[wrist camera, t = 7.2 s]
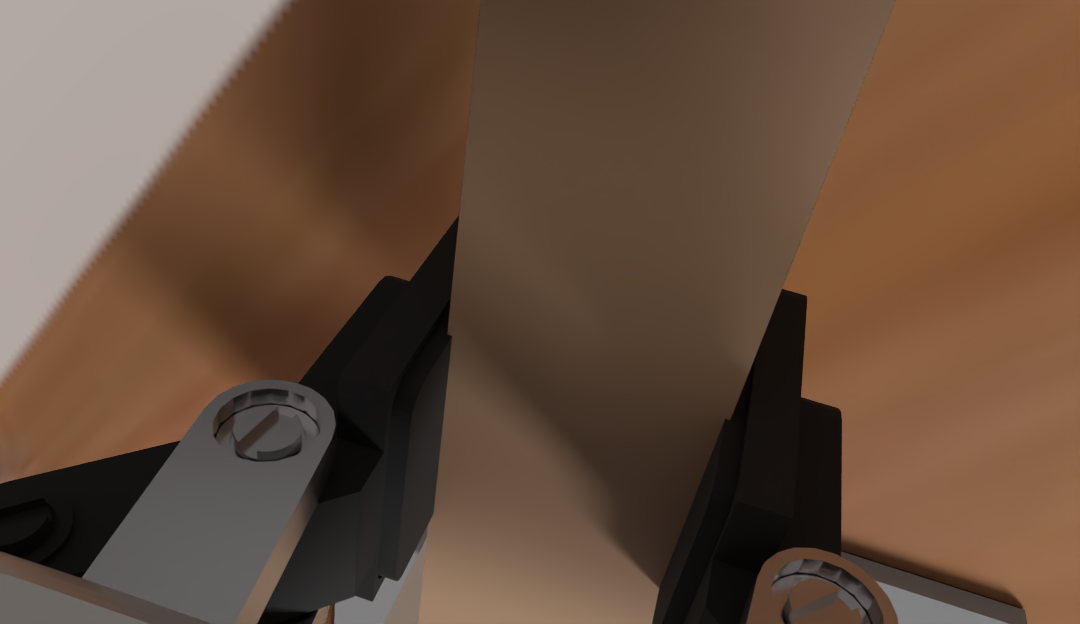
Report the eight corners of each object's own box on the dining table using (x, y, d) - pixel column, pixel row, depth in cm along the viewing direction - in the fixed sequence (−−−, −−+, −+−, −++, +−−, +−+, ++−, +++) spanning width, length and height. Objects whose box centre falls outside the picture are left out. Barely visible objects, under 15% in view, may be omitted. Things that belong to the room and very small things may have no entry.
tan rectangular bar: (661, -566, 8) (547, -668, 5) (1030, -508, 7) (1125, -583, 5) (467, 621, 19) (401, 786, 16) (606, 669, 19) (562, 846, 16)
